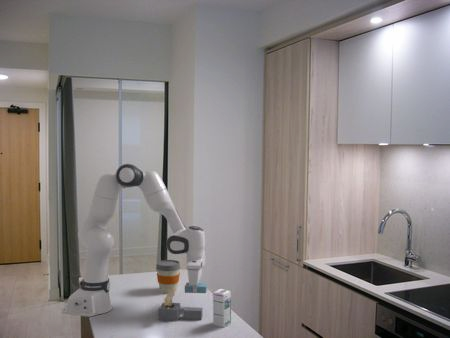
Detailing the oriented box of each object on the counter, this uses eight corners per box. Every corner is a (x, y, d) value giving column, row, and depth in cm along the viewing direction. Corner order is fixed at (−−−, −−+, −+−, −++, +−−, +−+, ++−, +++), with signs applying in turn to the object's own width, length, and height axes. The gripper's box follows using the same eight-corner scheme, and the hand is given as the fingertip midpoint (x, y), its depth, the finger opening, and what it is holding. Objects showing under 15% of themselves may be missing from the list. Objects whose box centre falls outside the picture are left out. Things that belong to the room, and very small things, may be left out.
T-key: (170, 311, 211) (170, 289, 211) (174, 311, 211) (174, 289, 211) (164, 323, 197) (164, 299, 197) (168, 323, 197) (168, 299, 197)
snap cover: (184, 292, 213) (184, 286, 213) (186, 288, 219) (186, 282, 219) (205, 293, 212) (205, 286, 212) (207, 289, 218) (207, 282, 218)
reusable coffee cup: (162, 296, 232) (162, 267, 231) (152, 289, 243) (152, 261, 242) (184, 291, 239) (184, 263, 238) (173, 285, 249) (173, 258, 249)
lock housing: (159, 320, 201) (159, 308, 200) (162, 313, 209) (162, 302, 208) (200, 321, 199) (200, 310, 199) (202, 314, 207) (203, 303, 207)
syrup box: (224, 327, 193) (224, 294, 192) (212, 324, 196) (212, 291, 195) (231, 323, 197) (231, 290, 197) (219, 320, 200) (219, 288, 200)
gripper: (192, 255, 225) (192, 282, 226) (185, 266, 205) (186, 296, 206) (205, 255, 225) (205, 282, 225) (199, 266, 204) (200, 297, 205)
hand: (196, 289), depth 215 cm, fingers closed on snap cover, 6 cm apart
